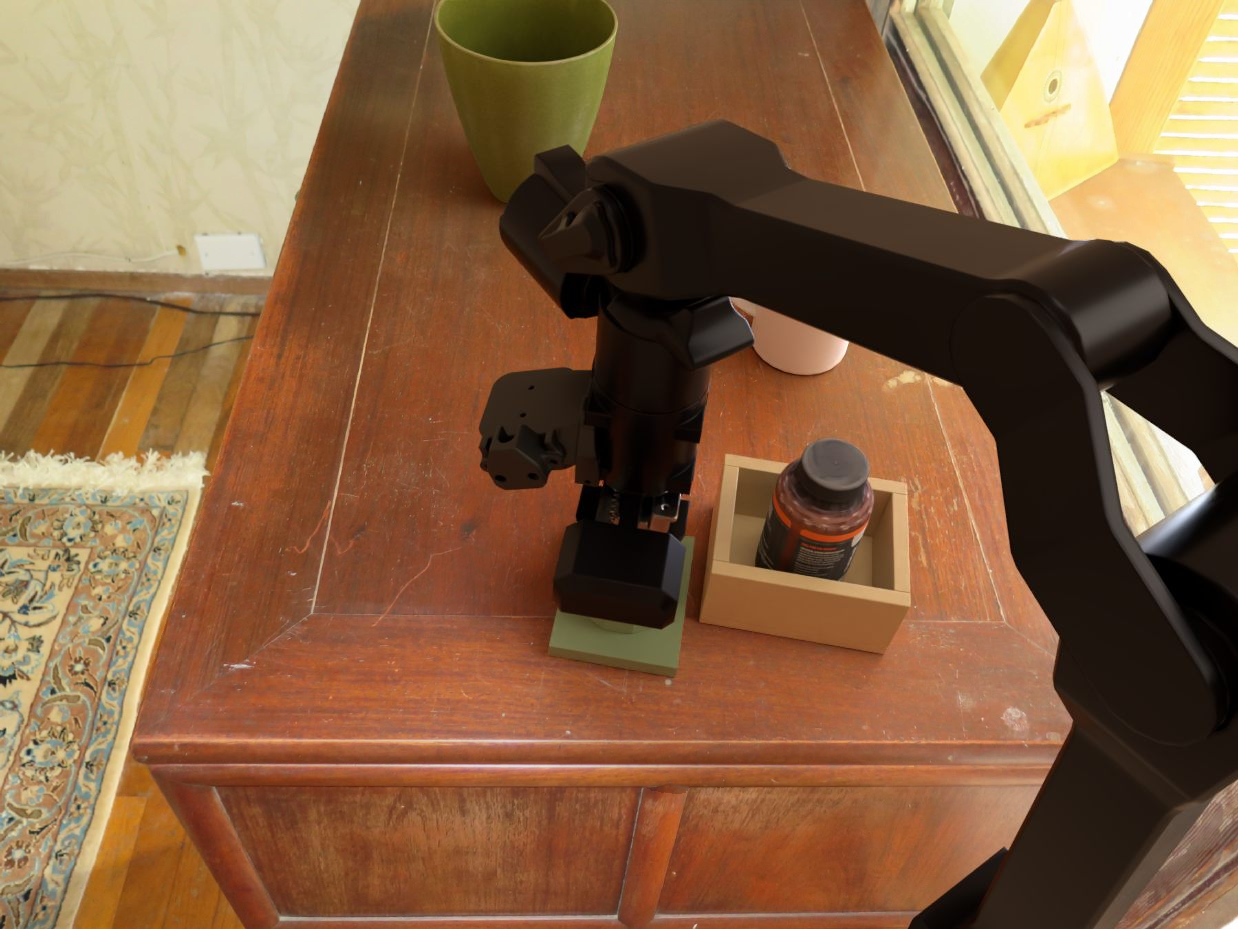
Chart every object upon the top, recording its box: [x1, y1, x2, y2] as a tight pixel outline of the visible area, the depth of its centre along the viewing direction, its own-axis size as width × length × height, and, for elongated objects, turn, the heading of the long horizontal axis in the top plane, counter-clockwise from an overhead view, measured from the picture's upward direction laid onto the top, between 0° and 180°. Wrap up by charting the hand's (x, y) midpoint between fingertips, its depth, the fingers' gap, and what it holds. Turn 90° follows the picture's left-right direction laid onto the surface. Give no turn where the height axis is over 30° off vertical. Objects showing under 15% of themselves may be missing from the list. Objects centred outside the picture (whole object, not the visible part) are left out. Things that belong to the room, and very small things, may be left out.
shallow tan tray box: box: [698, 453, 912, 655], centre depth 64 cm, size 10×12×6 cm
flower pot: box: [433, 0, 619, 204], centre depth 86 cm, size 15×15×16 cm
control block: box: [547, 535, 696, 678], centre depth 63 cm, size 10×8×3 cm
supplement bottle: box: [755, 437, 874, 582], centre depth 61 cm, size 6×6×11 cm
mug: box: [730, 297, 850, 376], centre depth 77 cm, size 12×8×10 cm, turn 82°
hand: (629, 552), depth 60 cm, fingers closed
